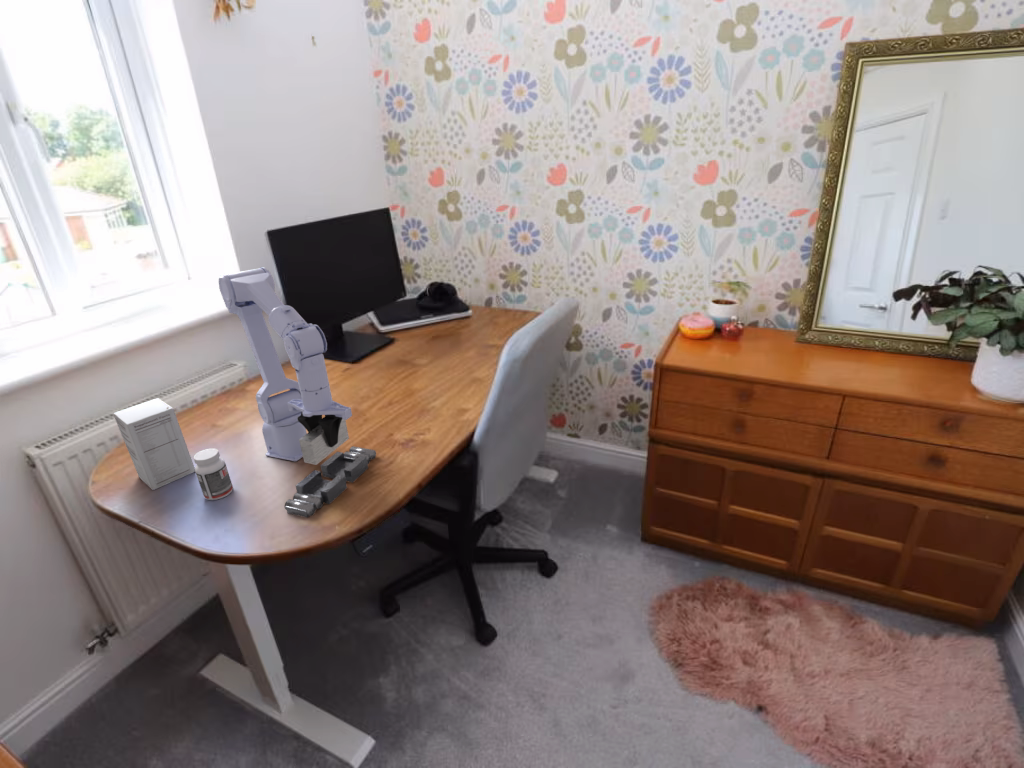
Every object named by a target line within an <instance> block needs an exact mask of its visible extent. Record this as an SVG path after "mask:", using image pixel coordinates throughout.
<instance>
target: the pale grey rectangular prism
mask: <svg viewBox="0 0 1024 768" xmlns="http://www.w3.org/2000/svg"><path fill="white" fill-rule="evenodd" d="M349 439H350V437H349V431H348V426H347V420H343V419H342V421H341V423H340V427H339V433H338V443H337V444H336V445H335V446H333V447H329V445H328V443H327V439H326V436H325V433H324V431H323V429H322V427H321V426H320V425H319V426H317V427H316V428H314V429H313V430H312V431H310V432H307V434H306V435H305V436H303V437H302V438H300V439H299V441H300V446H301V450H302V454H303V457H302V458H303V462H304V463H305V464H311V465H318V464H319V463H320V462H322V461H323V460H324V459H326V458H327V457H328V456H330V454H332V453H333V452H334V451H335V450H337V449H338V448H339V447H341V446H342V445H343V444H344V443H346V441H348V440H349Z"/></svg>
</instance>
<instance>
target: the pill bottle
mask: <svg viewBox="0 0 1024 768" xmlns="http://www.w3.org/2000/svg"><path fill="white" fill-rule="evenodd" d="M193 462H194V463H195V464H196V465H195V466H194V467H195V472H194V473H195V475H196V478H197V481H198V484H199V486H200V489H201V493H202V495H203V498H204V499H206V500H208V501H216V500H221V499H223V498H225V497H227V496H228V495H230V494H231V493H232V492H233V489H234V486H233V482H232V480H231V476H230V473H229V470H228V468H227V464H226V462H225V460H224V459H223V458H222V457H221V454H220V451H219V450H218V449H217V448H214V447H213V448H206V449H203V450H200V451H197V452H196V453H195V454H194V456H193Z"/></svg>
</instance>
